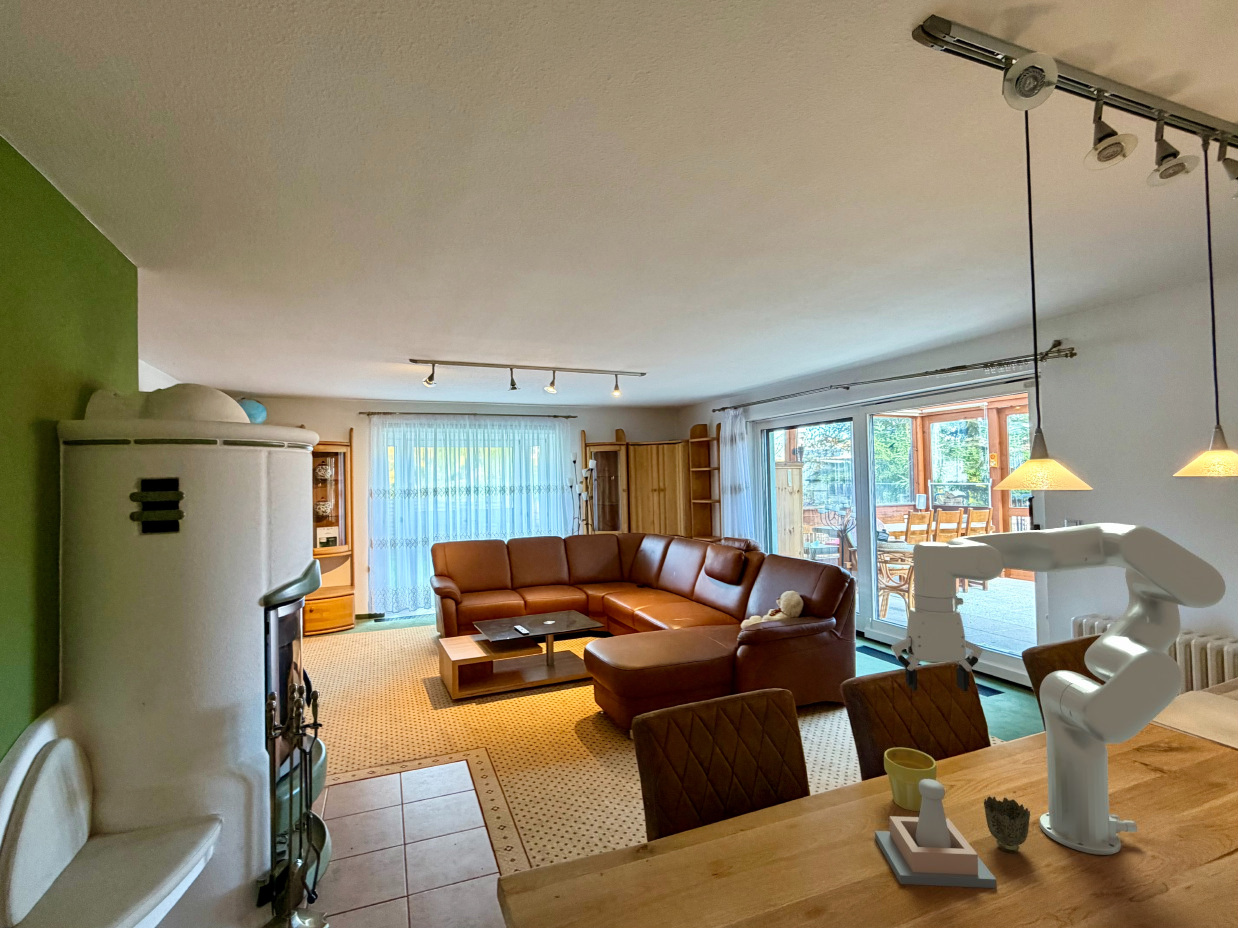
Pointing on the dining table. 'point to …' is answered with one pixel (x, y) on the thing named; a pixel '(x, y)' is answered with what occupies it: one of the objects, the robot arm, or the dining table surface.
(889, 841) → the socket base
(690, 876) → the dining table surface
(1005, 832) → the cup
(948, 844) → the salt shaker
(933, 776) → the plant pot
